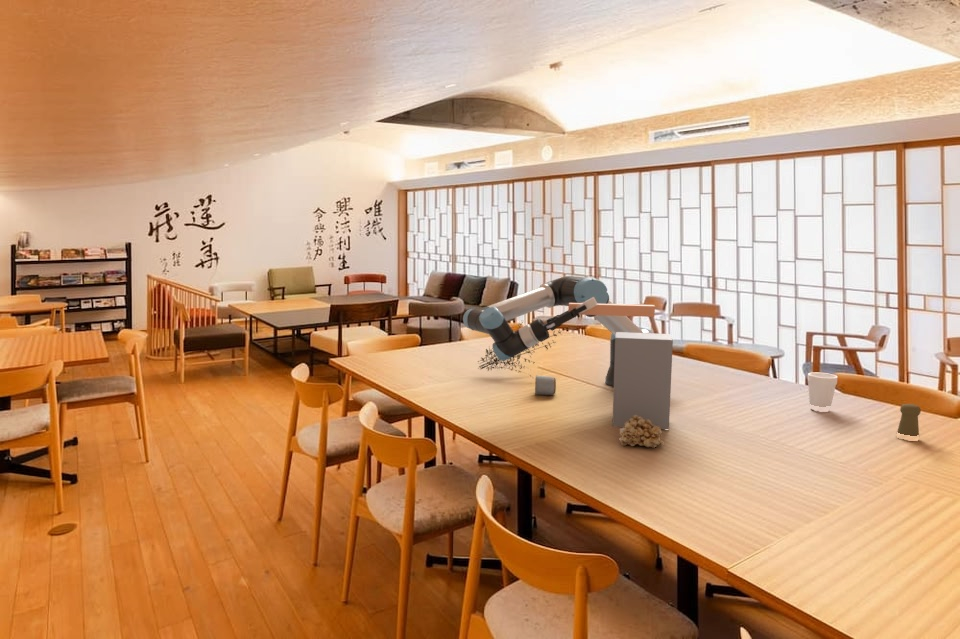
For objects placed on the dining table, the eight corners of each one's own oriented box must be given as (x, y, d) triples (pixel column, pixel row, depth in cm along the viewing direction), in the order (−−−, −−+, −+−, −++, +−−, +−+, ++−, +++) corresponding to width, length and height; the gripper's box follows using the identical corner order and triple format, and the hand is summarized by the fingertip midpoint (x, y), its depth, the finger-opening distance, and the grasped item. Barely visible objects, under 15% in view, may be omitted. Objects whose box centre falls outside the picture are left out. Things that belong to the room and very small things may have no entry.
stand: (612, 426, 204) (615, 337, 200) (613, 416, 215) (616, 332, 211) (668, 430, 200) (672, 340, 195) (666, 419, 211) (670, 334, 207)
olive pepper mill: (896, 434, 196) (899, 400, 194) (919, 437, 192) (922, 403, 191) (895, 439, 191) (899, 405, 189) (919, 443, 188) (923, 408, 186)
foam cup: (831, 407, 225) (834, 373, 223) (837, 414, 216) (840, 379, 215) (803, 405, 228) (805, 371, 226) (807, 412, 220) (810, 377, 218)
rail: (568, 314, 206) (568, 303, 206) (569, 312, 210) (569, 302, 209) (654, 316, 200) (654, 306, 199) (653, 315, 203) (654, 305, 203)
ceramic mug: (556, 397, 240) (556, 377, 239) (535, 396, 240) (535, 377, 240) (554, 390, 251) (554, 372, 250) (534, 390, 251) (534, 372, 250)
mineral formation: (615, 448, 183) (620, 429, 197) (661, 460, 180) (662, 440, 194) (621, 423, 181) (625, 406, 195) (667, 435, 178) (668, 417, 192)
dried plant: (456, 341, 264) (551, 301, 251) (478, 335, 294) (564, 299, 281) (482, 406, 262) (580, 370, 249) (502, 394, 292) (589, 361, 278)
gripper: (543, 338, 219) (601, 307, 213) (536, 346, 203) (599, 313, 197) (533, 320, 219) (591, 289, 213) (525, 327, 203) (588, 293, 197)
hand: (595, 301), depth 205 cm, fingers closed on rail, 3 cm apart
